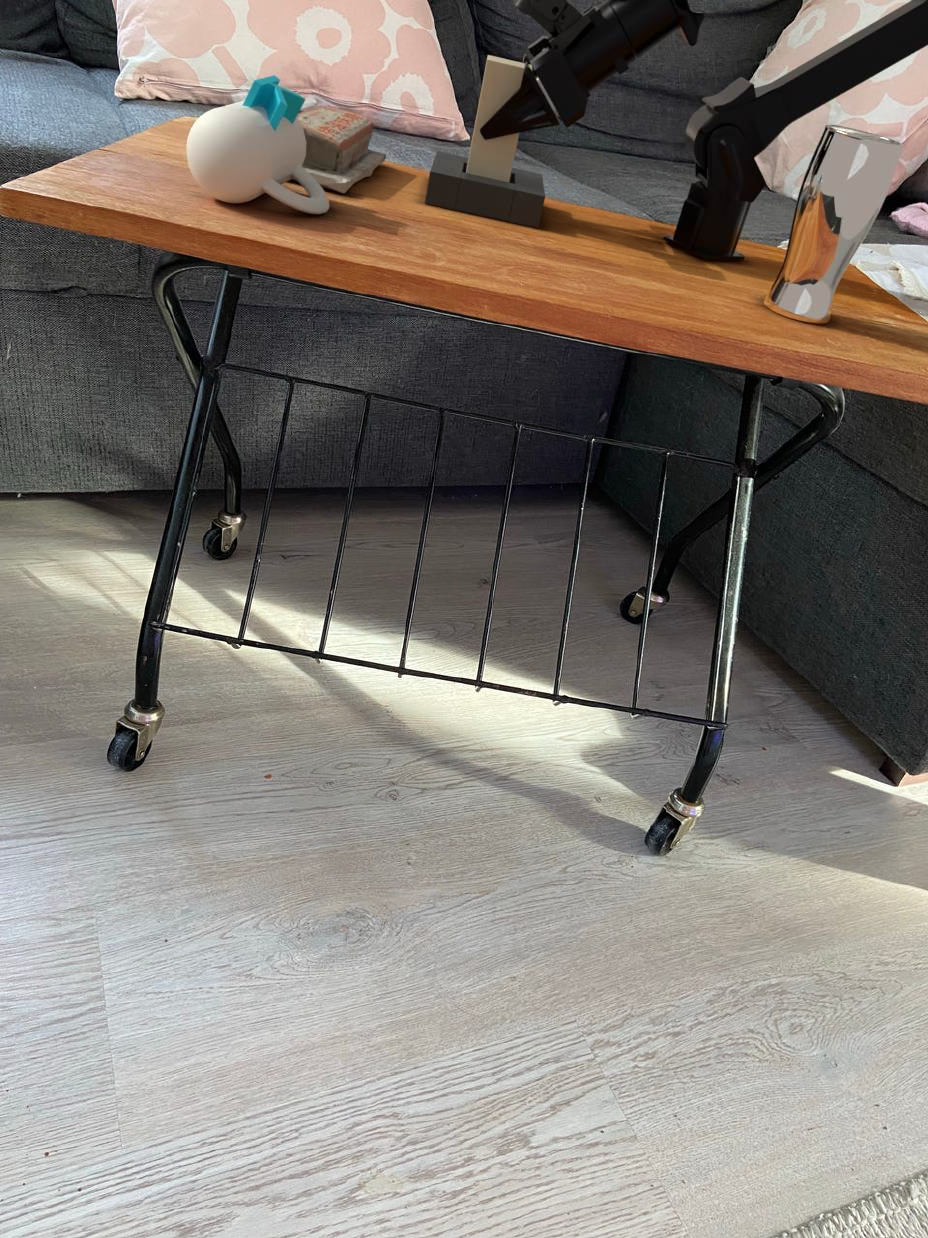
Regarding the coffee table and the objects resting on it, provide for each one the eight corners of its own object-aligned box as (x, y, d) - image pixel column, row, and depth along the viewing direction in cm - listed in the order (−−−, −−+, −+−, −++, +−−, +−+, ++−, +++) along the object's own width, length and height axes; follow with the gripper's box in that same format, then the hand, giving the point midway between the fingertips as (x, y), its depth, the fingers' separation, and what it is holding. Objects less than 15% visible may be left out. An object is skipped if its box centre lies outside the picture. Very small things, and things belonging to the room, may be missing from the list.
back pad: (503, 203, 103) (532, 64, 96) (502, 212, 100) (532, 69, 93) (462, 194, 103) (488, 54, 96) (460, 203, 99) (487, 58, 92)
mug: (207, 66, 75) (261, 57, 85) (159, 171, 80) (216, 151, 90) (336, 166, 77) (374, 145, 87) (282, 262, 82) (324, 232, 92)
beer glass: (744, 301, 90) (808, 121, 81) (781, 295, 94) (846, 125, 86) (811, 329, 86) (885, 144, 78) (846, 322, 91) (920, 147, 82)
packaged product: (301, 95, 105) (392, 117, 105) (296, 144, 107) (385, 165, 107) (246, 114, 90) (352, 140, 90) (242, 171, 92) (345, 196, 92)
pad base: (535, 203, 107) (542, 173, 105) (538, 228, 97) (545, 196, 96) (432, 180, 106) (437, 150, 104) (424, 203, 96) (430, 171, 95)
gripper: (572, -57, 96) (441, 45, 102) (584, -57, 81) (429, 63, 86) (627, 52, 101) (499, 143, 107) (648, 71, 86) (498, 177, 91)
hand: (482, 131), depth 98 cm, fingers closed on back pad, 4 cm apart
